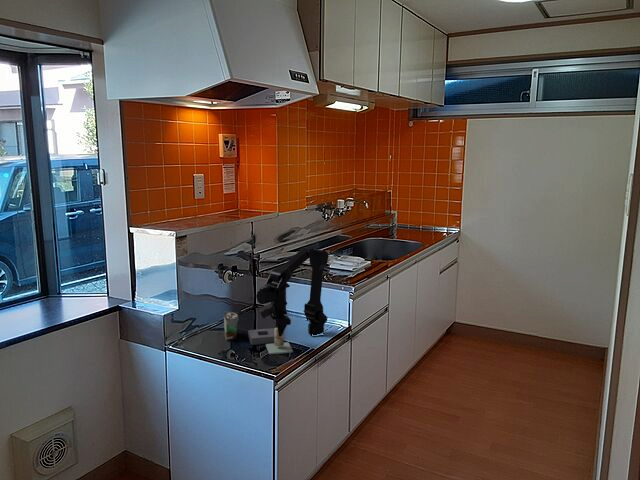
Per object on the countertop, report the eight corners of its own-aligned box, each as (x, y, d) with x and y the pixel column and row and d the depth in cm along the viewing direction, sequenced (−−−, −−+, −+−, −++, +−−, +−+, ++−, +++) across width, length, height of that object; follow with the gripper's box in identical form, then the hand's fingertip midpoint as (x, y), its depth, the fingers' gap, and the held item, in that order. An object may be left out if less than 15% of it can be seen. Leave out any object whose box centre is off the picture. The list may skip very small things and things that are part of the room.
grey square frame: (274, 334, 228) (274, 328, 228) (278, 342, 219) (278, 336, 218) (248, 336, 225) (248, 330, 225) (251, 344, 216) (251, 338, 215)
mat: (288, 343, 218) (288, 342, 218) (293, 352, 209) (293, 351, 209) (265, 345, 216) (265, 344, 215) (269, 354, 206) (269, 353, 206)
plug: (282, 342, 214) (282, 326, 213) (284, 345, 210) (284, 330, 209) (273, 343, 213) (273, 327, 212) (275, 346, 209) (275, 330, 208)
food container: (240, 340, 220) (240, 319, 219) (226, 342, 219) (226, 320, 217) (237, 331, 232) (236, 310, 230) (223, 332, 230) (223, 311, 228)
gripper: (256, 293, 215) (257, 328, 218) (263, 307, 197) (263, 344, 200) (282, 292, 218) (282, 326, 221) (291, 305, 200) (291, 341, 203)
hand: (279, 334), depth 211 cm, fingers closed on plug, 4 cm apart
